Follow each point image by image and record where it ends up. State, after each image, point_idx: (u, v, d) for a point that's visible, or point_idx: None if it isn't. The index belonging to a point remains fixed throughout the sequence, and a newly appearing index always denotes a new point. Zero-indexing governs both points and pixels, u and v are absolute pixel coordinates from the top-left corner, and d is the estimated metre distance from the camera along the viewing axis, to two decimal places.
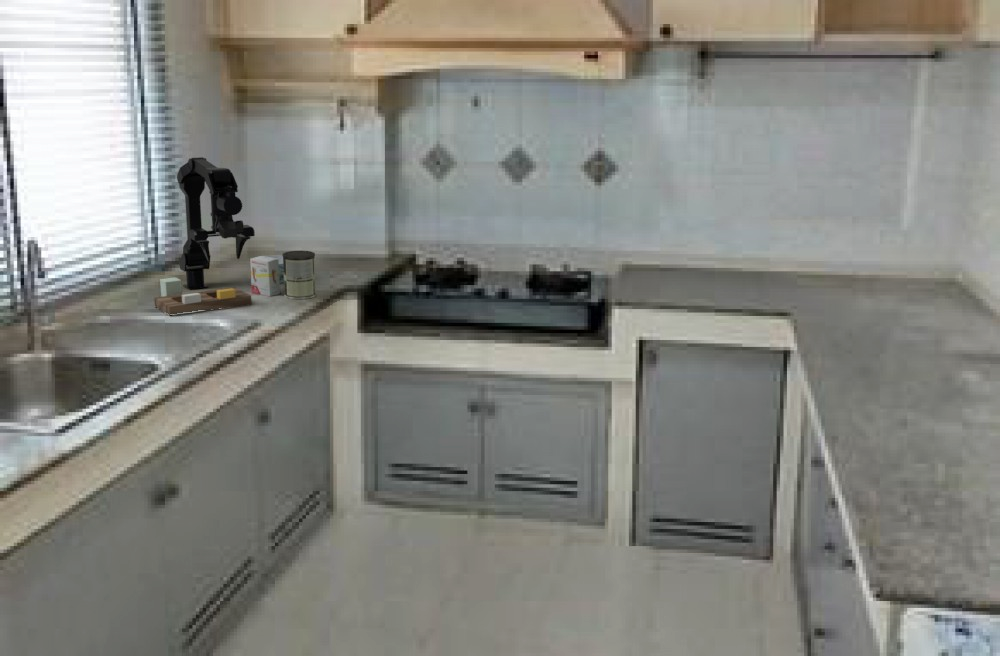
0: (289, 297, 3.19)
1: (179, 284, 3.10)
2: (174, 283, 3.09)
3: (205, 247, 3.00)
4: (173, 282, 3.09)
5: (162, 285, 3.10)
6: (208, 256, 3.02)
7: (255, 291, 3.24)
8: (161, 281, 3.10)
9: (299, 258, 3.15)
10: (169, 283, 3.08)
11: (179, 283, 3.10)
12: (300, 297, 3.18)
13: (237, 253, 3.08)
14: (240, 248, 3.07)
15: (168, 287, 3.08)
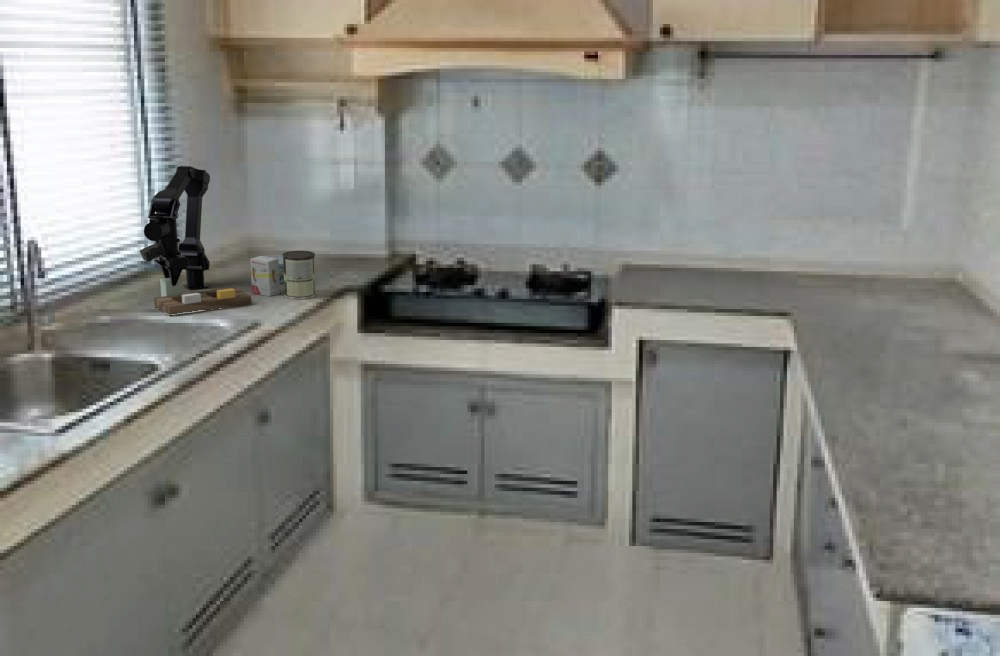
0: (289, 297, 3.19)
1: (179, 284, 3.10)
2: None
3: (161, 267, 3.12)
4: None
5: (162, 285, 3.10)
6: (164, 276, 3.13)
7: (255, 291, 3.24)
8: (161, 281, 3.10)
9: (299, 258, 3.15)
10: (169, 283, 3.08)
11: (179, 283, 3.10)
12: (300, 297, 3.18)
13: None
14: (170, 275, 3.07)
15: (168, 287, 3.08)
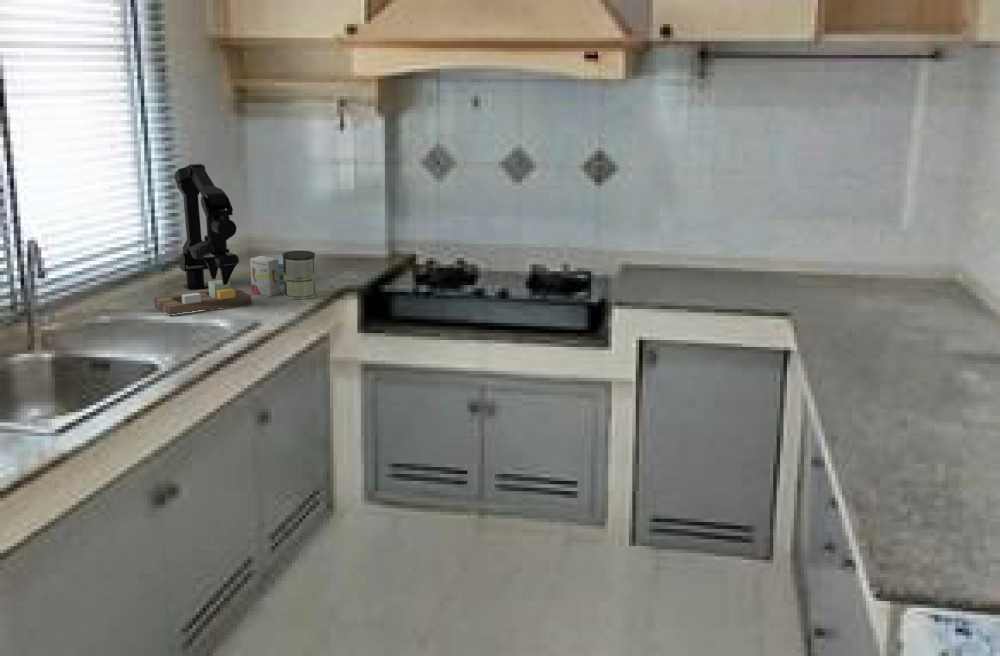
0: (289, 297, 3.19)
1: (228, 286, 3.09)
2: (223, 286, 3.08)
3: (206, 264, 3.12)
4: (222, 284, 3.07)
5: (210, 287, 3.09)
6: (210, 273, 3.12)
7: (255, 291, 3.24)
8: (209, 283, 3.09)
9: (299, 258, 3.15)
10: (218, 285, 3.07)
11: (228, 285, 3.09)
12: (300, 297, 3.18)
13: None
14: (221, 274, 3.04)
15: (217, 289, 3.07)
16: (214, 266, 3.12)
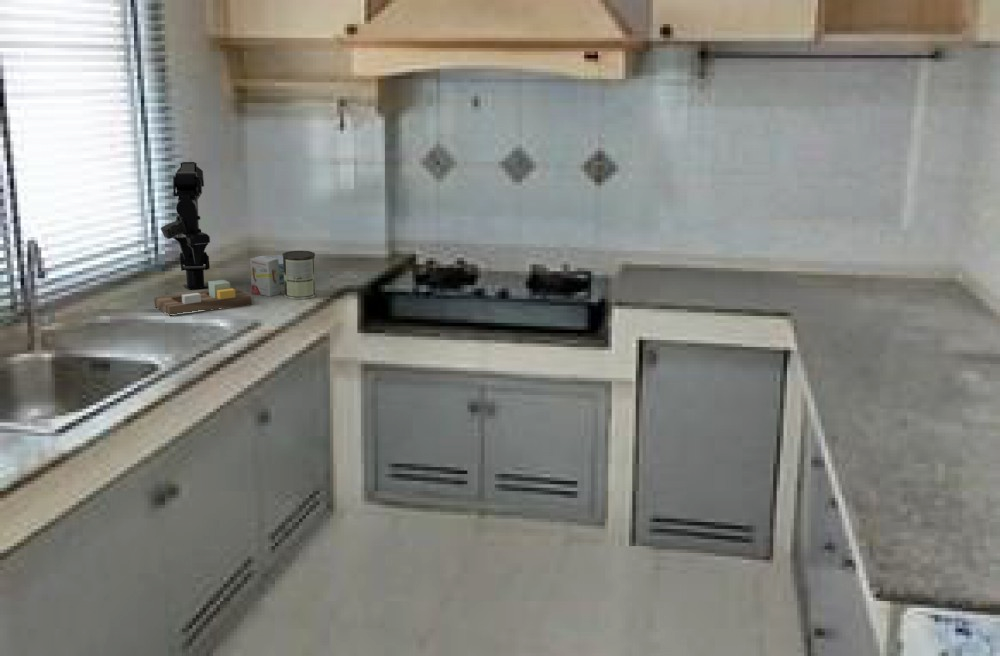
0: (289, 297, 3.19)
1: (228, 286, 3.09)
2: (223, 286, 3.08)
3: (179, 244, 3.16)
4: (222, 284, 3.07)
5: (210, 287, 3.09)
6: (182, 253, 3.16)
7: (255, 291, 3.24)
8: (209, 283, 3.09)
9: (299, 258, 3.15)
10: (218, 285, 3.07)
11: (228, 285, 3.09)
12: (300, 297, 3.18)
13: None
14: (193, 254, 3.08)
15: (217, 289, 3.07)
16: (186, 246, 3.16)
